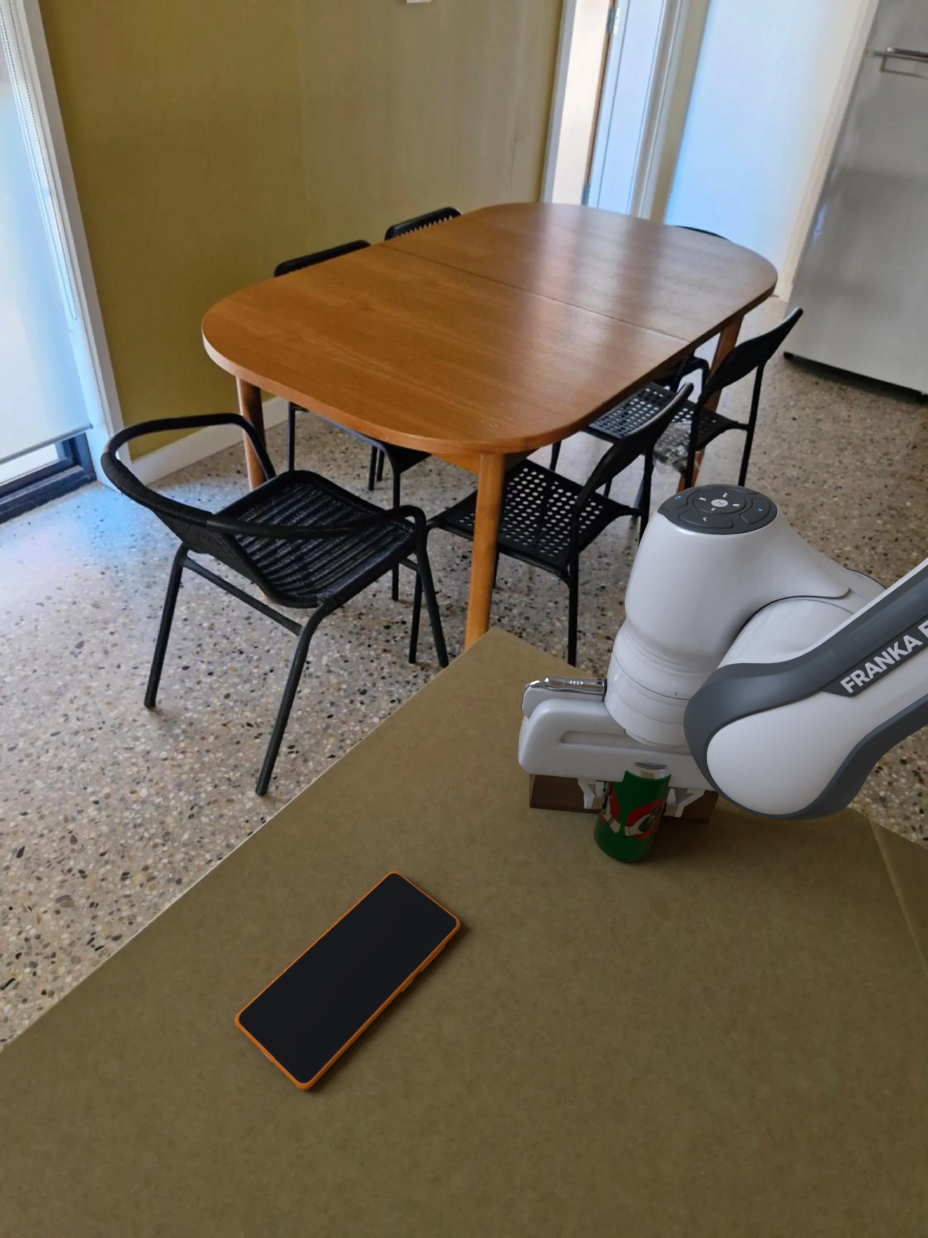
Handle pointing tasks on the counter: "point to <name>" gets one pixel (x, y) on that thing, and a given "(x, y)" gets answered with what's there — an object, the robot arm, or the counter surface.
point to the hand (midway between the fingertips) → (631, 806)
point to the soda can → (632, 812)
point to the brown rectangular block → (571, 798)
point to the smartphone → (346, 979)
